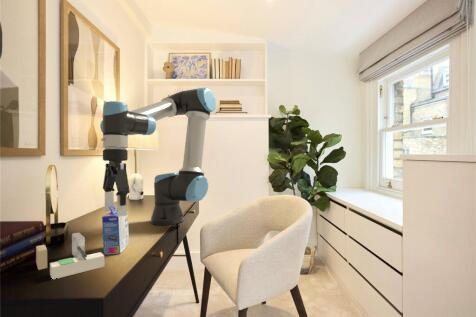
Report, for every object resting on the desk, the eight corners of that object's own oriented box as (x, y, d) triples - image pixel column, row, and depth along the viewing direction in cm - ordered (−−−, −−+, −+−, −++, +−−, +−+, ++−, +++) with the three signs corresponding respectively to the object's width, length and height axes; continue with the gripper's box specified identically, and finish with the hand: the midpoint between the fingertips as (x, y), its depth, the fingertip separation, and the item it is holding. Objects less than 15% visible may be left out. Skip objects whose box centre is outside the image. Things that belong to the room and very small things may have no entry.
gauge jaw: (79, 252, 85) (79, 232, 85) (92, 268, 72) (92, 244, 72) (72, 254, 83) (71, 233, 83) (84, 270, 71) (83, 246, 71)
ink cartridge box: (112, 245, 93) (112, 203, 93) (129, 244, 93) (129, 203, 94) (101, 255, 83) (101, 208, 83) (120, 254, 84) (119, 208, 84)
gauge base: (90, 252, 86) (90, 236, 86) (104, 266, 74) (104, 248, 74) (36, 263, 77) (36, 246, 77) (41, 282, 65) (41, 261, 65)
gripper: (93, 150, 95) (93, 209, 95) (115, 146, 77) (114, 220, 76) (115, 150, 100) (115, 207, 100) (140, 147, 82) (140, 217, 81)
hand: (115, 213), depth 88 cm, fingers open, 13 cm apart
